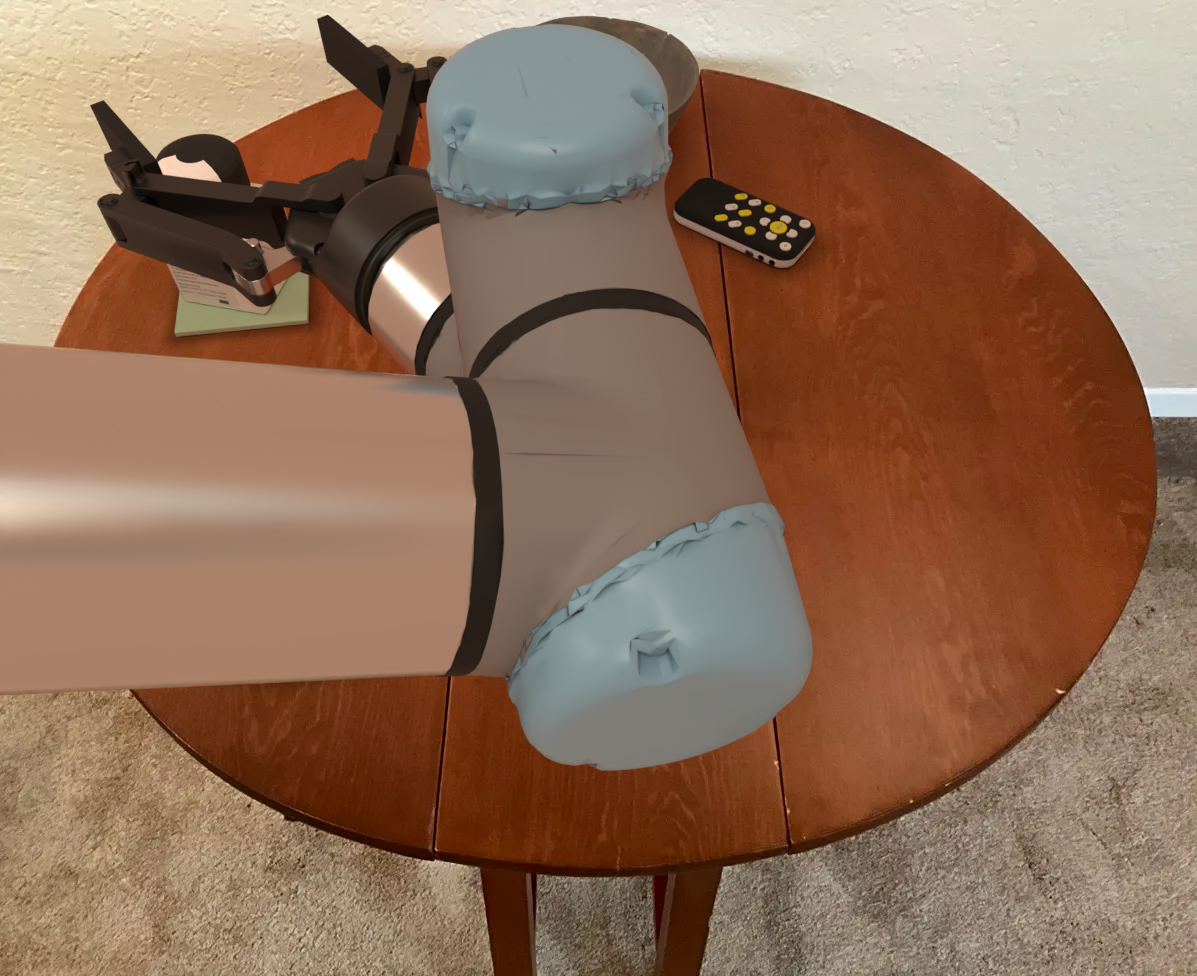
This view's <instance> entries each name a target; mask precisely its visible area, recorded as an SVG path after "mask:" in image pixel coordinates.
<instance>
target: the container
mask: <svg viewBox="0 0 1197 976" xmlns="http://www.w3.org/2000/svg"><path fill="white" fill-rule="evenodd" d="M155 159H156V160H157V162H158V164H159V166H160V169H161V171H162V173H163V175H170V176H178V177H185V178H193V179H200V180H208V181H216V182H223V183H231V184H238V185H246V186H254V187H262V185H263V183H262V184H261V183H255V182H251V180H250V177H249V174H248V171H247V169H246V166H245V162H244V160H243V157H242V154H241V151H240V149H239V147H238V146H237V145H236V144H235V143H234V142H233V141H231V140H230V139H228V138H226V137H224V136H221V135H218V134H213V133H195V134H190V135H186V136H181V137H180V138H176V139H175V140H173V141H171V142H169V143H168V144H167V145H165V146H164V147H163V148H162V149H161V150H160V151H159V152H158V154H157V155H156V158H155ZM284 210H285V213H286V216H287V219H288V214H287V211H286V207H284ZM243 240H244V241H246V242H247V241H248V240H249V239H243ZM259 243H260V245H261V246H265V247H267V248H269V249H273V248H272V247H271V246H270V245H269V244H268V243H266V242H263V241H259ZM165 264H166V265H167V268H168V270H169V272H170V275H171V276H172V279H173V281H174V282H175V285H176V287H177V289H178V291H179V294H180V293H181V295H182V298H183V299H184V300H185V301H189V302H194V303H200V304H206V305H211V306H217V307H223V308H229V309H234V310H240V311H246V312H252V313H257V314H266V313H267V312H268V310H269V308H270V307H271V305H269V306H267V307H257V306H255V305H254V304H253V303H251V302H250V301H249V300H248V299H247V298H246V297H244V296H243V295H242V294H241V293H240V292H239V291H238V290H236V289H235V288H234V287H231V286H229V285H226V284H223V283H220V282H217V281H215V280H212V279H209V278H206V277H203V276H200V275H198V274H195V273H192V272H189V271H186V270H184V269H181V268H178V267H175V266H172V265H170V264H167V263H165ZM285 281H286V280H284V281H282V282H281V283H279V284H277V285H276V286H274V289H275V292H276V294H277V295H278V293H279V291H280V290H281V288H282V286H283V284H284V283H285Z"/></svg>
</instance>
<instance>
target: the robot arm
mask: <svg viewBox="0 0 1197 976" xmlns="http://www.w3.org/2000/svg"><path fill="white" fill-rule="evenodd" d="M316 21H317V26H318V30H319V34H320V39H321V43H322V47H323V52H324V56H325V60H326V63H327V64H328V65H329V66H331V67H332V68H333V69H334V70H335V71H336V72H338V73H339V74H340V75H341V76H342V77H343V78H344V79H346V81H347V82H349V83H350V84H351V85H352V86H353V87H355V88H356V90H358V91H359V92H360V93H362V95H364V96H365V97H366V98H367V99H369V100H370V101H371V102H372V103H373V104H374V105H375V106H377V108H379V109H380V110H381V117H380V121H379V125H378V127H377V132H374V133H373V134H372V137H371V142H370V146H369V150H368V155H367V158H364V159H363V158H362V159H357V160H356V159H355V157H350V158H348V159H346V160H343V161H341V162H339V163H338V164H336V165H335V166H334V167H332V168H331V169H329V170H328V171H324V172H320V173H317V174H312V175H310V176H308V177H305V178H303V179H301V180H299V181H298V183H292V182H283V181H276V180H266V181H264V182H263V183H262V187H254V186H246V185H238V184H231V183H223V182H216V181H208V180H200V179H193V178H185V177H178V176H170V175H163V173H162V171H161V169H160V166H159V164H158V162H157V160H156V158H155V156H154V154H153V153H151V151H149V149H148V148H147V147H146V146H145V145H144V144H143V142H141V141H140V140H139V138H138V137H137V136H136V135H135V134H134V132H132V130H131V129H130V127H128V126H127V124H126V123H125V122H124V121H123V120H122V119H121V118H120V117H119V115H118V114H117V113H116V112H115V111H114V110H113V108H112V107H110V105H109V104H108V103H107V101H105V100H104V99H102V100H100V101H97V102H95V103H92V104H90V105H89V106H90V108H91V110H92V112H93V115H94V117H95V119H96V121H97V123H98V126H99V127H100V130H101V132H102V134H103V136H104V139H105V140H106V143H107V145H108V147H109V149H110V150H111V151H108V152H106V153H103V161H104V163H105V165H106V167H107V170H108V172H109V174H110V175H111V178H112V180H113V182H114V184H115V185H116V187H118V189H119V190H120V191H121V193H114V192H113V193H106V194H104V195H102V196H100V197H99V198H98V200H97V202H96V205H97V208H98V209H99V211H100V213H101V216H102V217H103V219H104V221H105V223H106V225H107V227H108V229H109V231H110V233H111V235H112V237H113V239H114V240H115V243H116V245H117V246H118V247H120V248H122V249H125V250H127V251H130V252H134V253H136V254H139V255H142V256H145V257H148V258H150V259H153V260H156V261H158V262H161V263H164V264H166V263H167V264H170V265H172V266H175V267H178V268H181V269H184V270H186V271H189V272H192V273H195V274H198V275H200V276H203V277H206V278H209V279H212V280H215V281H217V282H220V283H223V284H226V285H229V286H231V287H234V288H235V289H236V290H238V291H239V292H240V293H241V294H242V295H243V296H244V297H246V298H247V299H248V300H249V301H250V302H251V303H253V304H254V305H255V306H257V307H267V306H269V305H272V304H273V303H274V302H275V301H276V299H277V294H276V292H275V289H274V286H276V285H277V284H279V283H281V282H282V281H284V280H286V279H287V278H289V277H291V276H292V275H294V274H296V273H297V272H301V273H303V274H307V275H310V277H313V278H316V279H317V280H319V282H321V283H322V284H323V286H324V287H325V288H326V290H327V291H328V292H329V293H330V294H331V295H332V296H333V297H334V299H335V300H336V301H337V302H338V303H339V304H340V305H341V306H342V307H343V308H344V309H345V310H346V311H347V313H348V314H349V315H350V316H351V317H352V318H353V319H354V320H355V321H356V322H357V323H358V325H360V326H361V328H362V329H364V331H365V332H366V333H368V335H370V336H371V337H372V338H373V339H374V340H375V341H376V342H377V343H378V344H379V346H380V347H381V348H382V350H384V352H385V353H386V354H387V355H388V356H389V357H390V358H391V359H392V360H393V361H394V363H396V364H397V366H398V367H399V368H400V369H401V371H403V372H404V373H405V374H404V373H390V372H377V371H367V370H352V369H341V368H339V369H338V368H330V367H329V368H327V367H315V366H314V367H313V366H303V365H288V364H276V363H265V362H253V361H252V362H251V361H238V360H227V359H226V360H225V359H214V358H201V357H200V358H199V357H187V356H174V355H162V354H149V353H148V354H146V353H138V352H137V353H136V352H123V351H113V350H112V351H111V350H99V349H98V350H97V349H86V348H75V347H59V346H48V345H35V344H34V345H33V344H21V343H12V342H11V343H10V342H8V343H7V342H0V696H16V695H17V696H19V695H34V694H35V695H39V694H40V695H42V694H58V693H81V692H82V693H83V692H105V691H106V692H107V691H123V690H124V691H126V690H127V691H128V690H147V689H167V688H168V689H169V688H172V689H173V688H189V687H190V688H192V687H193V688H195V687H213V686H214V687H215V686H235V685H236V686H237V685H257V684H277V683H278V684H280V683H281V684H282V683H300V682H302V683H303V682H322V681H323V682H324V681H346V680H364V679H387V678H388V679H389V678H408V677H412V678H413V677H430V676H431V677H433V676H434V677H439V678H444V677H463V676H474V677H490V678H505V680H506V686H507V695H508V698H509V699H510V702H511V703H512V704H513V705H514V706H515V707H516V708H517V713H518V718H519V722H520V726H521V729H522V732H523V734H524V737H525V738H526V739H527V741H528V743H529V744H530V745H531V746H532V747H533V748H535V750H537V752H539V753H540V754H541V755H542V756H543V757H545V758H546V759H548V760H550V761H551V762H555V763H557V764H560V765H566V766H574V767H575V766H581V765H588V766H589V767H593V768H594V769H597V770H599V771H625V770H626V771H628V770H637V769H645V768H650V767H657V766H661V765H666V764H672V763H676V762H679V761H683V760H687V759H691V758H695V757H697V756H700V755H703V754H707V753H709V752H712V751H715V750H718V749H720V748H722V747H725V746H727V745H729V744H731V743H733V742H735V741H738V740H740V739H742V738H744V737H746V736H749V735H750V734H752V733H754V732H755V731H757V730H758V729H760V728H761V727H763V726H764V725H766V724H768V723H769V722H771V721H772V720H773V719H775V717H776V716H777V714H778V713H779V712H780V711H781V710H782V709H783V708H785V707H786V706H787V705H788V704H790V703H791V702H792V701H794V699H795V698H796V697H797V696H798V695H799V693H800V692H801V691H802V689H803V688H804V686H805V683H806V682H807V679H808V677H809V676H810V673H811V669H812V665H813V660H814V648H813V647H814V645H813V635H812V630H811V627H810V624H809V621H808V617H807V613H806V610H805V606H804V602H803V599H802V596H801V592H800V588H799V585H798V582H797V578H796V574H795V571H794V567H793V564H792V560H791V557H790V553H789V550H788V546H787V543H786V539H785V529H786V524H785V522H784V519H783V518H782V516H781V514H780V512H779V510H778V509H777V508H776V506H774V504H772V502H771V499H770V496H769V493H768V491H767V489H766V485H765V483H764V480H763V478H762V476H761V473H760V471H759V467H758V464H757V463H756V460H755V457H754V454H753V452H752V449H751V447H750V444H749V442H748V438H747V436H746V433H745V431H744V429H743V425H742V424H741V421H740V420H741V419H740V418H739V416H738V413H737V409H736V407H735V404H734V403H733V402H734V401H733V400H732V397H731V395H730V391H729V389H728V386H727V384H726V381H725V379H724V376H723V374H722V370H721V369H720V366H719V362H718V360H717V354H716V351H715V349H714V346H713V341H712V337H711V334H710V331H709V328H708V325H707V323H706V320H705V317H704V314H703V311H702V309H701V306H700V303H699V301H698V298H697V295H696V291H695V290H694V287H693V284H692V280H691V278H690V275H689V273H688V270H687V267H686V263H685V261H684V259H683V256H682V253H681V251H680V248H679V244H678V242H677V239H676V237H675V234H674V231H673V228H672V226H671V223H670V221H669V217H668V213H667V207H666V195H665V188H666V187H665V184H666V180H667V175H668V173H669V171H670V167H671V165H672V164H673V156H674V154H673V150H672V148H671V146H670V144H669V136H668V97H667V93H666V89H665V86H664V83H663V81H662V78H661V76H660V74H659V73H658V71H657V70H656V68H655V67H654V66H653V64H652V63H651V62H650V61H649V60H648V59H647V58H646V57H645V56H644V55H643V54H642V53H641V52H639V51H638V50H637V49H636V48H634V47H633V46H631V45H630V44H628V43H626V42H624V41H622V40H620V39H618V38H616V37H614V36H611V35H608V34H605V33H602V32H600V31H596V30H592V29H588V28H584V27H579V26H573V25H562V24H547V25H540V26H535V25H528V26H522V27H510V28H505V29H500V30H498V31H495V32H491V33H488V34H487V35H486V34H485V35H484V36H482V37H479V38H477V39H475V40H473V41H471V42H469V43H467V44H466V45H464V46H462V47H461V48H459V50H457V51H456V52H455V53H453V55H451V56H450V57H449V58H448V59H447V58H446V57H444V56H441V55H437V56H436V55H435V56H431V57H430V58H428V59H427V60H426V65H425V66H421V67H415V65H414V64H412V63H410V62H402V61H400V60H399V59H398V58H397V57H396V56H395V55H393V54H392V53H391V52H390V51H388V50H387V49H386V48H385V47H383V46H381V45H378V44H372V45H370V46H367V45H365V44H364V43H363V42H362V41H361V40H359V39H358V38H357V37H356V36H355V35H353V34H352V33H351V32H350V31H349V30H347V28H345V27H344V26H343V25H342V24H340V23H339V22H338V21H337V20H336V19H334V18H333V17H332V16H330V14H326V15H323V16H321V17H318V18H316ZM421 104H425V115H426V126H427V136H428V145H429V154H430V160H429V162H428V164H427V166H426V169H425V168H420V167H415V166H410V162H411V157H412V153H413V147H414V143H415V142H414V141H415V137H416V132H417V128H418V122H419V119H420V120H423V113H422V108H421ZM284 208H285V210H284ZM286 209H289V211H288V212H289V213H288V215H287V216H286V214H287V212H286V213H285V211H286ZM287 217H288V219H287ZM243 239H249V240H248V241H247V242H246V241H244V240H243ZM259 241H263V242H266V243H268V244H269V245H270V246H271V247H272V248H273V249H269V248H267V247H265V246H261V245H260V243H259ZM167 264H166V265H167Z"/></svg>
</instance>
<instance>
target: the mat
mask: <svg viewBox="0 0 1197 976" xmlns="http://www.w3.org/2000/svg"><path fill="white" fill-rule="evenodd" d="M310 277H311V276H310V275H307V274H303V273H301V272H297V273H296V274H294V275H292V276H291V277H289V278H287V279H286V281H285V283H284V284H283V286H282V288H281V290H280V291H279V293H278V295H277V299H276V301H275V302H274V303H273V304H272V305H271V307H270V308H269V310H268V312H267V313H266V314H257V313H252V312H246V311H240V310H234V309H229V308H223V307H217V306H211V305H206V304H200V303H194V302H189V301H185V300H184V299H183V298H182V295H181V293H180V292H179V295H178V303H177V310H176V317H175V324H174V335H175V337H176V338H179V337H187V336H190V337H191V336H199V335H208V334H219V333H220V334H221V333H228V332H229V333H230V332H237V331H238V332H239V331H247V330H248V331H249V330H257V329H258V330H259V329H269V328H278V327H279V328H280V327H289V326H299V325H308V324H309V322H310V321H309V319H310V283H311V282H310V281H311V279H310Z"/></svg>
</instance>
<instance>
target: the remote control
mask: <svg viewBox="0 0 1197 976" xmlns="http://www.w3.org/2000/svg"><path fill="white" fill-rule="evenodd" d="M673 217H674V219H675V221H676V222H677V223H678V224H679V225H681V226H684V227H686V228H688V229H690V230H692V231H695V232H697V233H699V234H701V235H702V236H705V237H707V238H710V239H712V240H714V241H717V242H718V243H721V244H723V245H725V246H727V247H729V248H732V249H734V250H735V251H738V252H740V253H743V254H745V255H747V256H749V257H752V258H753V259H756V260H758V261H760V262H762V263H764V264H767V265H769V266H771V267H774V268H778V269H787V268H789V267H792V266H793V265H795V264H796V262H797V261H798V260H799V259H800V257H801V256H803V254H804V253H805V252H806V251H807V249H808V248H809V247H810V246H811V245H812V243H813V242H814V240H815V236H816V227H815V224H814V223H813V221H811V220H810V219H809V218H807V217H804V216H802V215H799V214H797V213H795V212H792V211H790V210H789V209H787V208H783V207H781V206H779V205H776V204H774V203H772V202H770V201H767V200H765V199H763V198H760V197H758V196H756V195H754V194H751V193H748V192H747V191H744V190H742V189H739V188H737V187H736V186H735V187H734V186H733V185H730V184H728V183H726V182H723V181H721V180H718V179H716V178H713V177H701V178H699V179H697V180H696V181H694V182H693V183H692V184H691V185H690V187H688V189H686V190H685V191H684V192H683V193H682V194H681V195H680V196H679V197H678V198H677V199H676V200H675V202H674V206H673Z"/></svg>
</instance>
